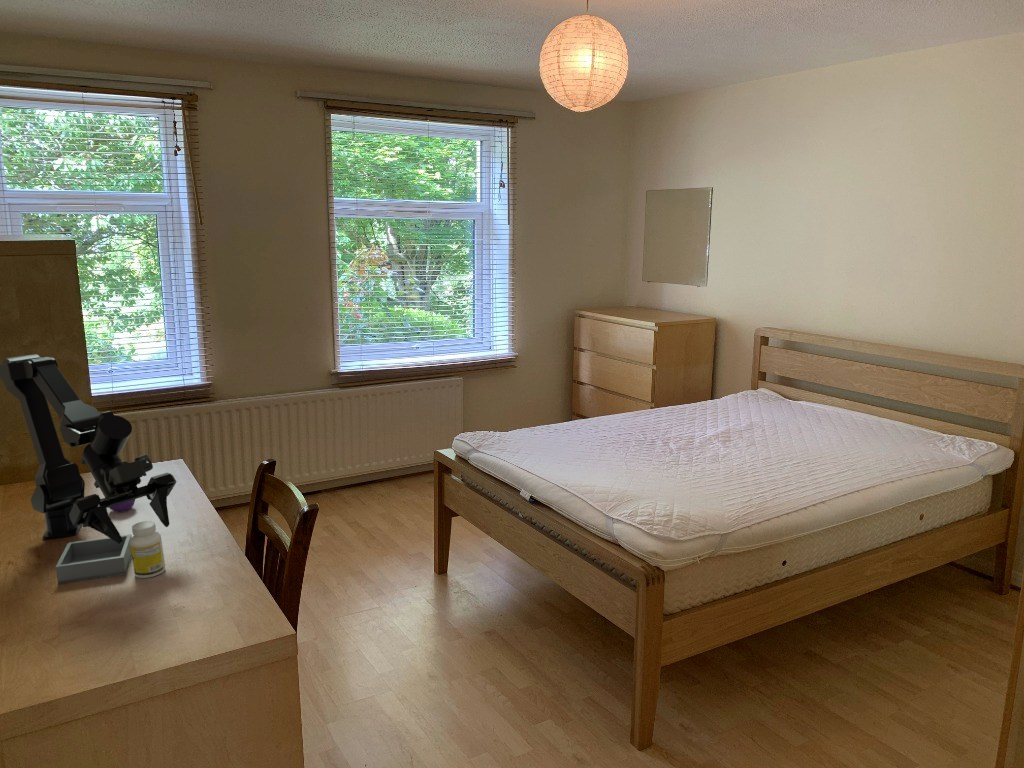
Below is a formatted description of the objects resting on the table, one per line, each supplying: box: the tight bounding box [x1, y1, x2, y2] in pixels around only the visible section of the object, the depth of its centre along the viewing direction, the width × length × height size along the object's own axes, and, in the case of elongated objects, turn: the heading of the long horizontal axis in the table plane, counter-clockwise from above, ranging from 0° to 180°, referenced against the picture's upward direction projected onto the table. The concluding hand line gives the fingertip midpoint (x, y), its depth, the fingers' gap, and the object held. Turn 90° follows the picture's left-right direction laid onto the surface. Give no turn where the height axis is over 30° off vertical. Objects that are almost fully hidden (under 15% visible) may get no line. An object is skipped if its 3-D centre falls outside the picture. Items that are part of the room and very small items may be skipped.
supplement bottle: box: [130, 520, 166, 579], centre depth 144 cm, size 5×5×10 cm
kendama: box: [108, 499, 136, 513], centre depth 182 cm, size 6×6×20 cm
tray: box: [55, 533, 133, 585], centre depth 148 cm, size 11×11×4 cm
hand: (145, 534), depth 144 cm, fingers open, 9 cm apart
